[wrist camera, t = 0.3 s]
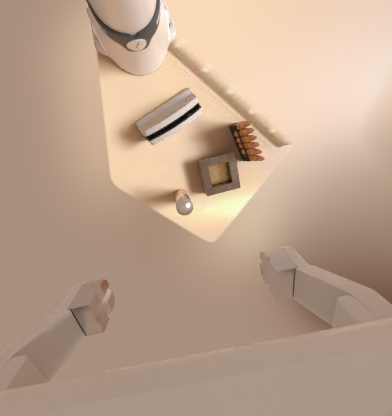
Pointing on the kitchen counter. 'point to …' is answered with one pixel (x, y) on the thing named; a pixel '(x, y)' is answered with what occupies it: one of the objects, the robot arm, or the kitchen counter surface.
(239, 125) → the ammunition clip
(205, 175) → the square nut block
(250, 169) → the kitchen counter surface
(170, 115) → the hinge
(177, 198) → the pin
